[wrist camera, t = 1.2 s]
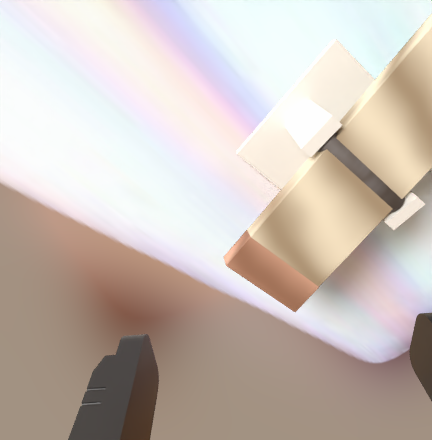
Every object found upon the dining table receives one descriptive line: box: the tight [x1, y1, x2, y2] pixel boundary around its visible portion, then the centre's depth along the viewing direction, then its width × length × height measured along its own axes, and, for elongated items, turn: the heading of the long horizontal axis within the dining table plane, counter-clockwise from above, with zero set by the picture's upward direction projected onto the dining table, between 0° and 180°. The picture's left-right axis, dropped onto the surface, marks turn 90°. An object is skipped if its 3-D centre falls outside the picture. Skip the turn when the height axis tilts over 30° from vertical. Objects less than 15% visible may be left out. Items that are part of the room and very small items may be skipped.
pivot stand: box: [237, 39, 425, 230], centre depth 30 cm, size 12×14×8 cm
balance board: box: [224, 14, 432, 312], centre depth 27 cm, size 24×8×2 cm, turn 141°
